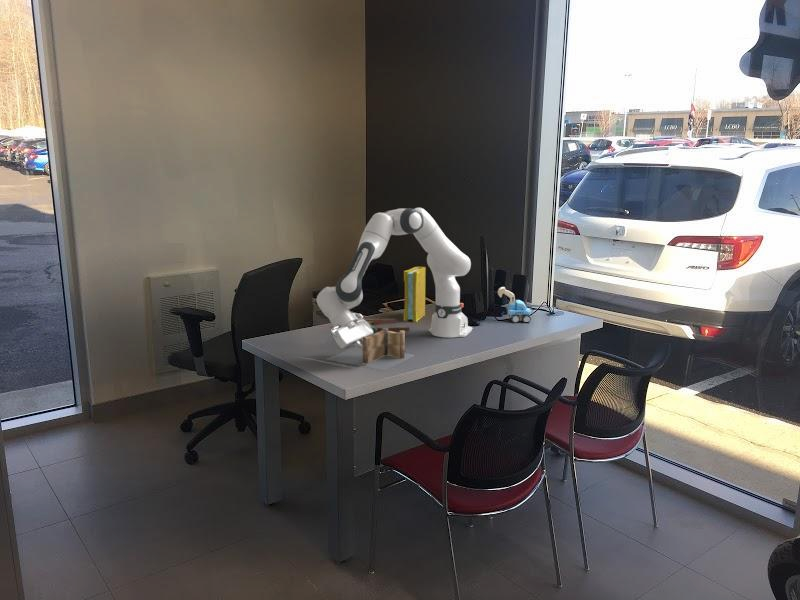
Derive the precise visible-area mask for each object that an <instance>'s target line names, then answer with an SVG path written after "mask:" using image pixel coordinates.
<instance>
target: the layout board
mask: <svg viewBox="0 0 800 600" xmlns="http://www.w3.org/2000/svg"><path fill="white" fill-rule="evenodd" d="M415 356H416V354H411V353H406V352H405V358H400V357H395V356H389V355H383V356H381V357H379V358H377V359H375V360H373V361H371V362H369V363H367V364H366V363H363V352H361V350H360V349H358V348H357V347H355V346H354V347H352V348H349V349H347V350H344V351H342V352H340V353H337V354H335V355H332V356H330V357H327V358H325V360H327V361H332V362H337V363H342V364H347V365H352V366H358V367H363V368H367V369H374V370H378V371H382V372H384V371H387V370H388V369H389V370H390V369H391V368H393V367H395V366H397V365H399V364H402V363H403V362H405V361H407V360H409V359H411V358H413V357H415Z"/></svg>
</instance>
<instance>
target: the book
mask: <svg viewBox="0 0 800 600" xmlns="http://www.w3.org/2000/svg"><path fill="white" fill-rule="evenodd" d="M403 282H404V311H403V322H409V321H410V320H412V322H413V323H417V322H419V321H420V320H421V319H422V318H424V317H425V316H426V266H414V267H412V268H409V269H407V270H403ZM423 316H424V317H423ZM418 320H419V321H418Z"/></svg>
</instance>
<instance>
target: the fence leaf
mask: <svg viewBox="0 0 800 600" xmlns="http://www.w3.org/2000/svg"><path fill="white" fill-rule="evenodd" d="M383 355H385V331H383V330H382V331H380V332H377V333H373V335H371V336H368V337H363V363H366V364H367V363H369V362H371V361H373V360H375V359H377V358H379V357H381V356H383Z"/></svg>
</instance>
